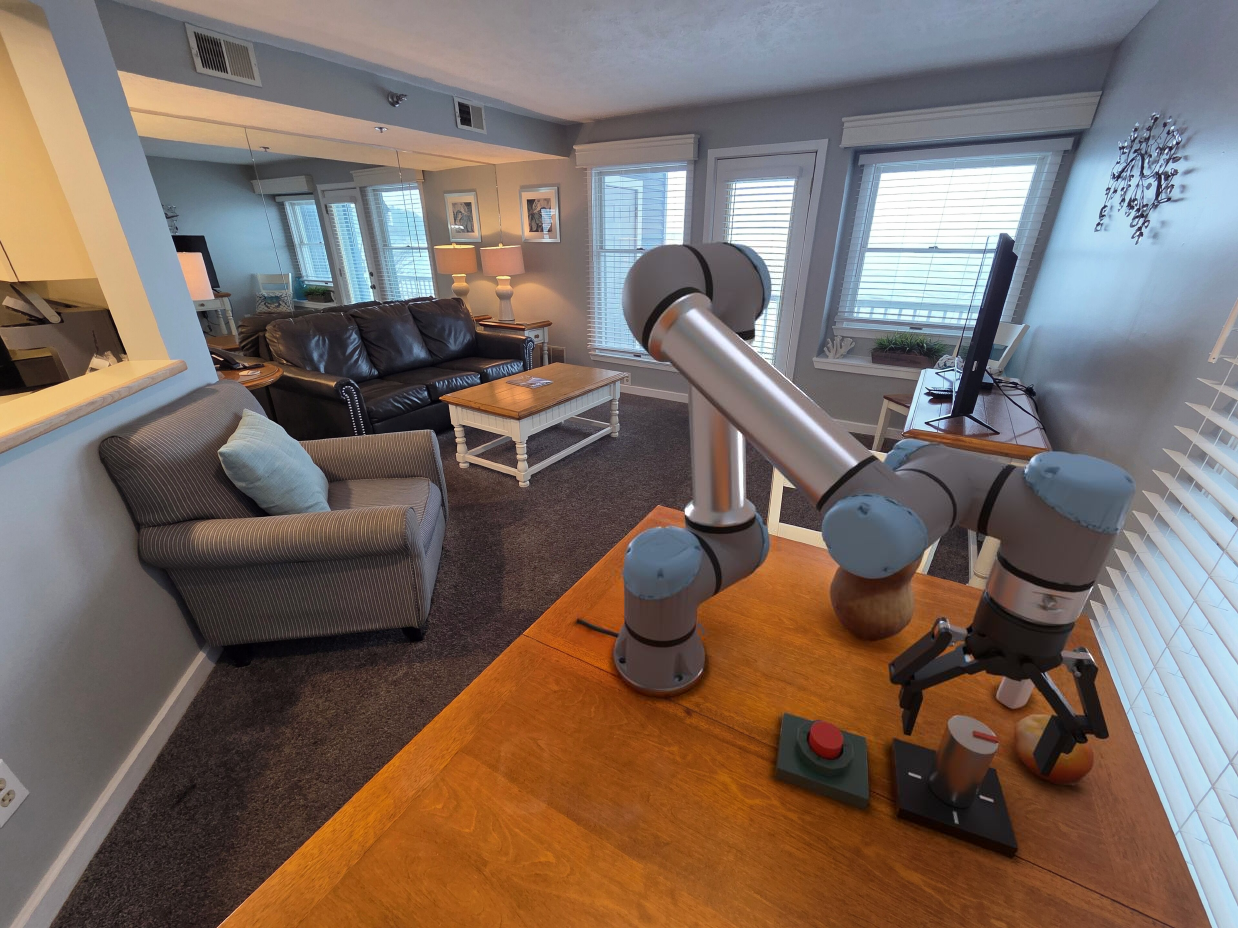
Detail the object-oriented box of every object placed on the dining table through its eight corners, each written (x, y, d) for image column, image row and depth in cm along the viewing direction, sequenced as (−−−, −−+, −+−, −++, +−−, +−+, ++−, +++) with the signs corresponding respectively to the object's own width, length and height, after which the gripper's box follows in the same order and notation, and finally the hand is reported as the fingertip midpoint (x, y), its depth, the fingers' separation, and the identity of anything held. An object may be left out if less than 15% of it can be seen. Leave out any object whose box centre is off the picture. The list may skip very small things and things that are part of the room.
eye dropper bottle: (1040, 708, 75) (1070, 649, 70) (1004, 710, 75) (1031, 650, 70) (1018, 684, 79) (1045, 626, 74) (984, 686, 79) (1008, 628, 74)
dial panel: (896, 817, 62) (900, 806, 61) (890, 746, 70) (893, 736, 69) (1012, 858, 58) (1018, 847, 57) (991, 778, 66) (996, 767, 65)
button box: (774, 778, 66) (778, 758, 65) (781, 721, 74) (785, 702, 72) (865, 810, 63) (871, 790, 61) (863, 747, 70) (868, 728, 68)
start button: (807, 752, 66) (810, 742, 65) (809, 727, 69) (811, 717, 68) (840, 763, 64) (843, 753, 63) (840, 737, 68) (843, 726, 67)
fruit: (1112, 806, 61) (1089, 753, 60) (1031, 797, 66) (1010, 748, 65) (1098, 753, 67) (1078, 704, 66) (1026, 749, 72) (1006, 703, 71)
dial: (929, 798, 62) (952, 742, 57) (924, 762, 66) (945, 707, 62) (977, 814, 60) (1004, 758, 56) (968, 776, 64) (993, 721, 60)
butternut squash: (918, 656, 85) (959, 531, 74) (838, 655, 85) (868, 531, 75) (881, 601, 97) (912, 487, 87) (812, 601, 98) (834, 487, 87)
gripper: (893, 596, 52) (856, 736, 61) (1218, 665, 43) (1119, 816, 52) (888, 556, 58) (855, 688, 67) (1170, 609, 49) (1089, 753, 58)
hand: (970, 744), depth 59 cm, fingers open, 13 cm apart
